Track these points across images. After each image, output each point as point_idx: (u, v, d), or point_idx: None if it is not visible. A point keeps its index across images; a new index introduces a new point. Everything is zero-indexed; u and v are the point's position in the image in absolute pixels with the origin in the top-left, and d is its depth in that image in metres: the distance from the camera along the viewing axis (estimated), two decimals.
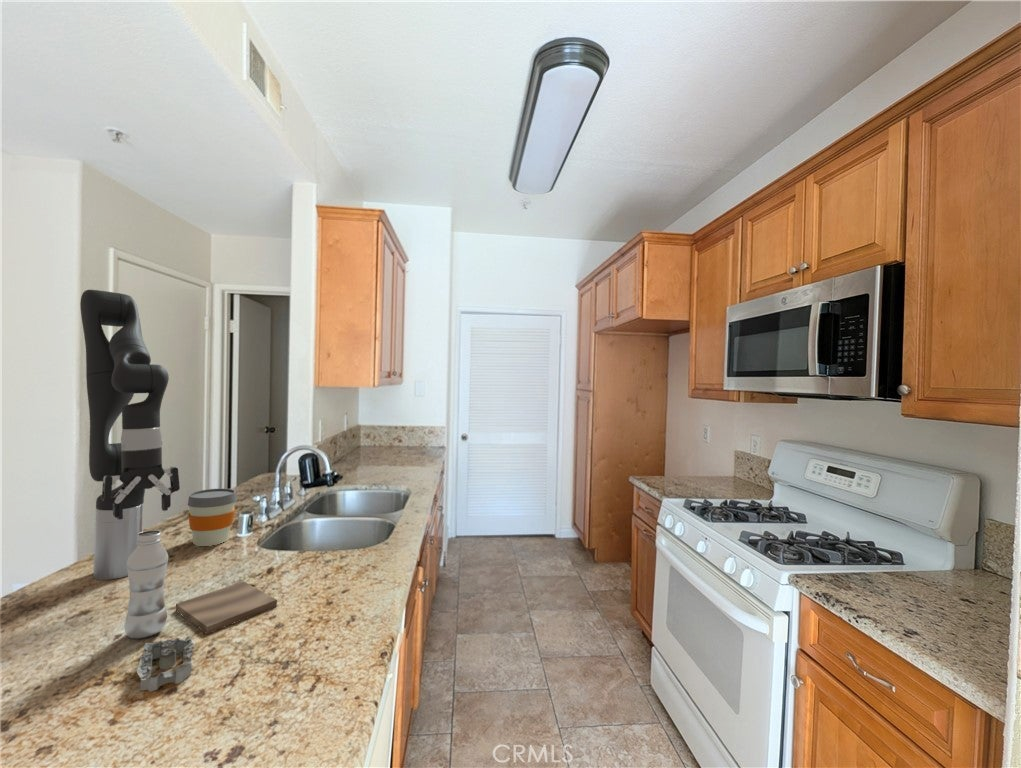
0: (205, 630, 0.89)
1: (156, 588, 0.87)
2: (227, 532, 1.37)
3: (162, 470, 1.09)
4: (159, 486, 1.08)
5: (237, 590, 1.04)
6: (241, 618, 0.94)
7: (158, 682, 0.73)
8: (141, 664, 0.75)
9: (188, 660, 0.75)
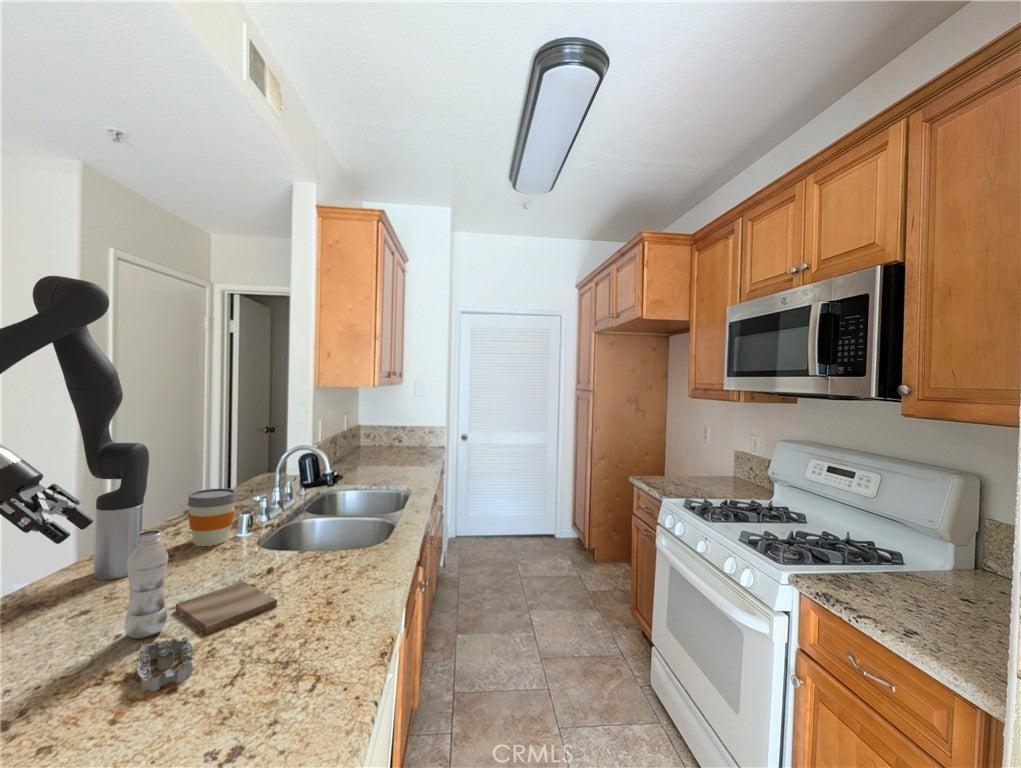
0: (205, 630, 0.89)
1: (156, 588, 0.87)
2: (227, 532, 1.37)
3: None
4: None
5: (237, 590, 1.04)
6: (241, 618, 0.94)
7: (160, 682, 0.73)
8: (140, 665, 0.75)
9: (190, 659, 0.75)
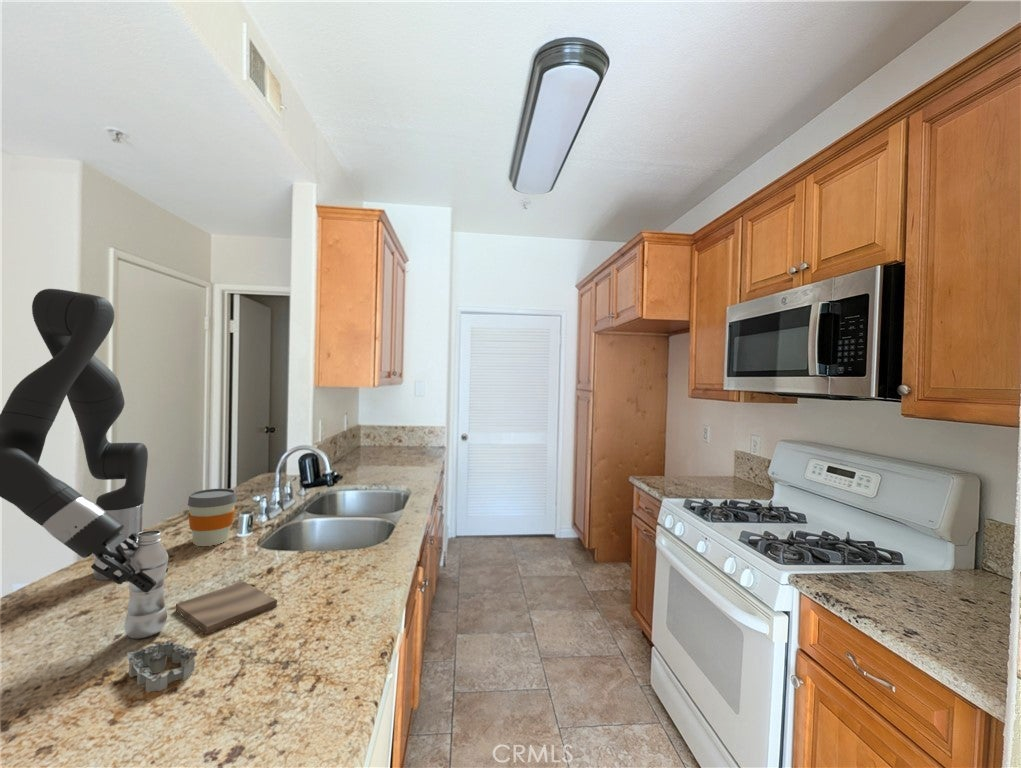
0: (205, 630, 0.89)
1: (156, 589, 0.87)
2: (227, 532, 1.37)
3: (98, 559, 0.82)
4: None
5: (237, 590, 1.04)
6: (241, 618, 0.94)
7: (167, 681, 0.73)
8: (138, 670, 0.73)
9: (194, 655, 0.77)
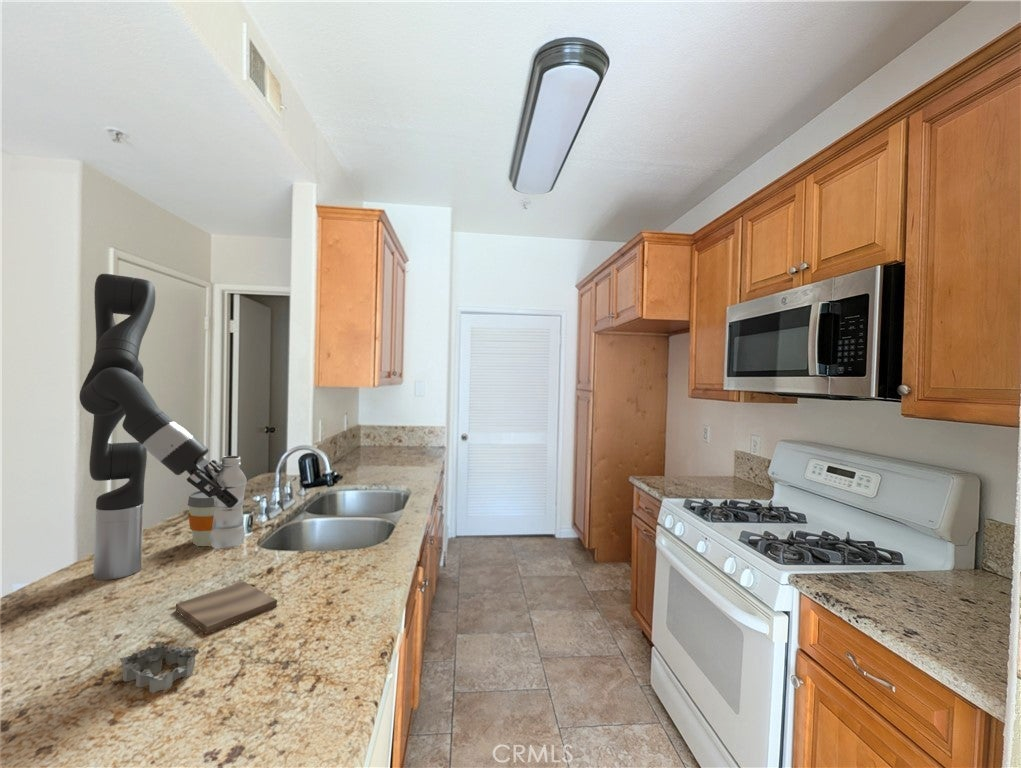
0: (205, 630, 0.89)
1: (237, 506, 0.97)
2: None
3: None
4: None
5: (237, 590, 1.04)
6: (241, 618, 0.94)
7: (171, 679, 0.74)
8: (139, 672, 0.73)
9: (196, 652, 0.77)
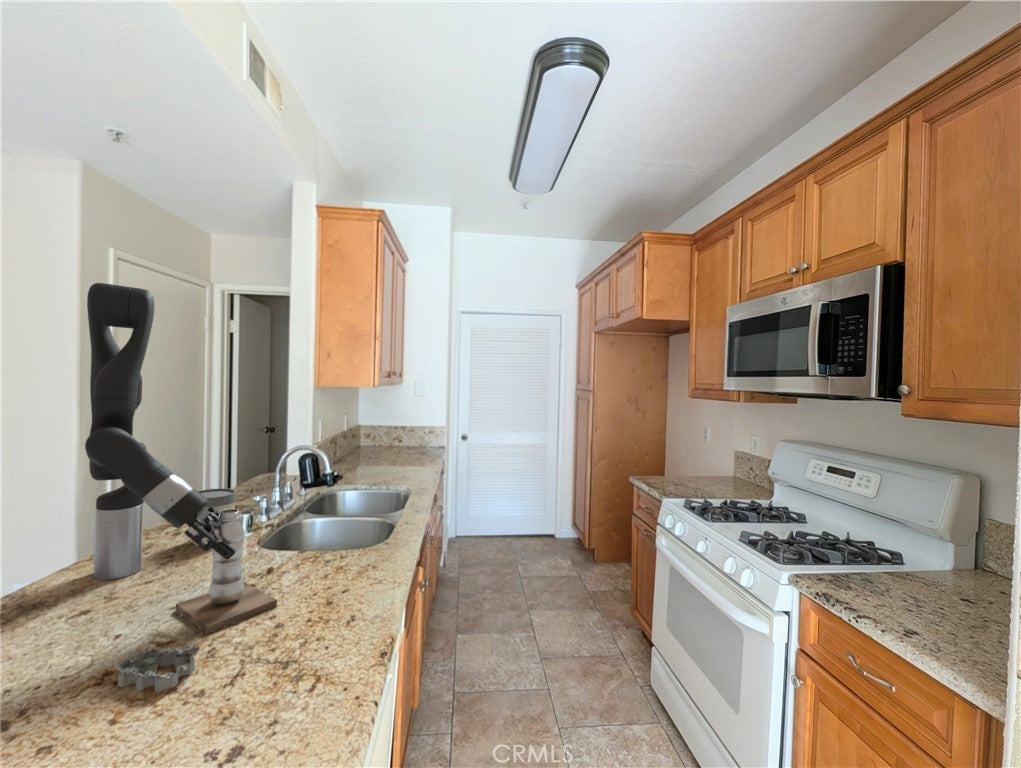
0: (205, 630, 0.89)
1: (236, 561, 0.98)
2: None
3: None
4: None
5: None
6: (241, 618, 0.94)
7: None
8: (141, 674, 0.72)
9: (197, 649, 0.78)
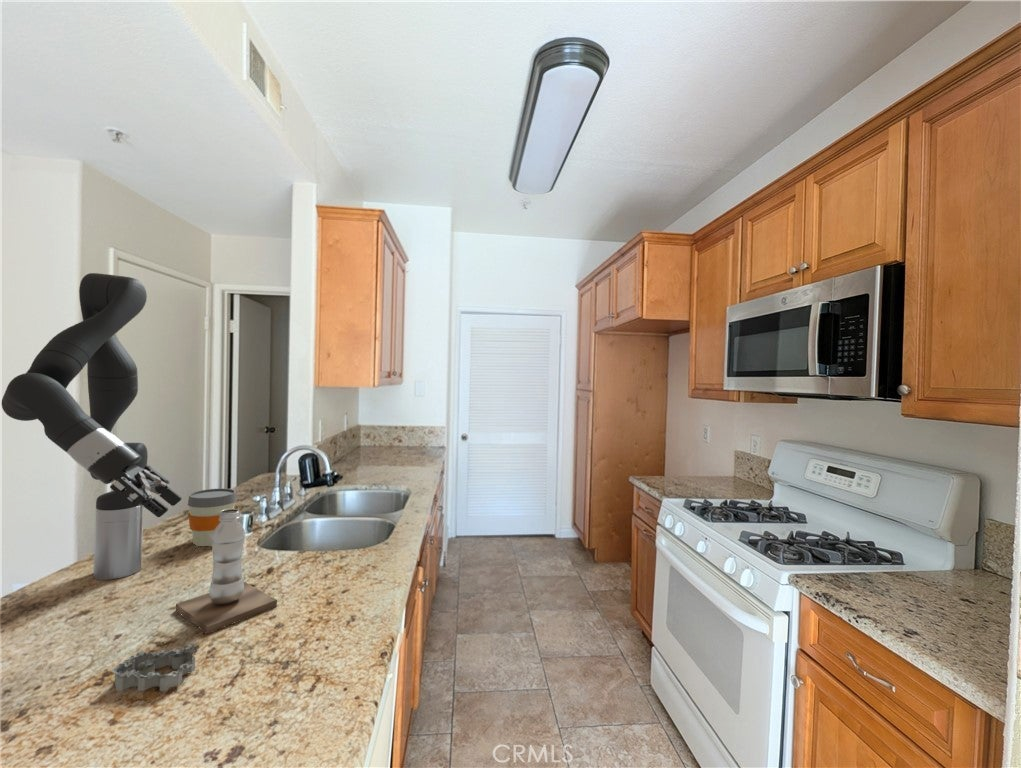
0: (205, 630, 0.89)
1: (236, 561, 0.98)
2: None
3: None
4: None
5: None
6: (241, 618, 0.94)
7: None
8: (144, 675, 0.72)
9: (197, 648, 0.79)
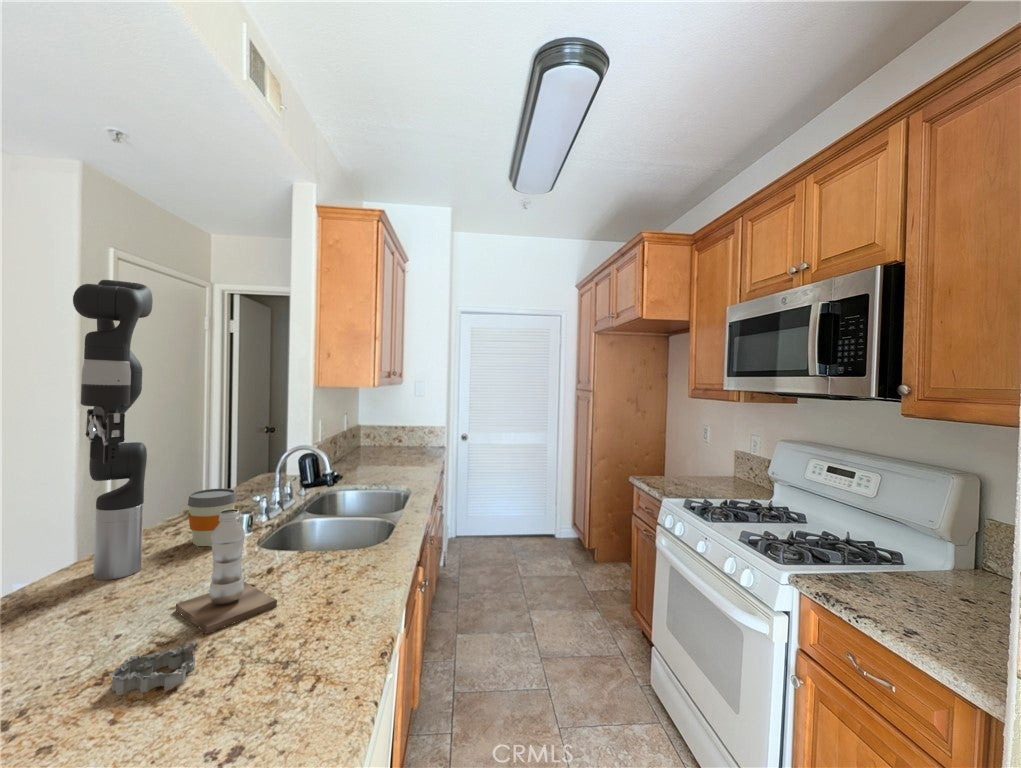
0: (205, 630, 0.89)
1: (236, 561, 0.98)
2: None
3: (104, 413, 0.89)
4: (98, 432, 0.89)
5: None
6: (241, 618, 0.94)
7: None
8: (147, 676, 0.72)
9: (196, 646, 0.79)
